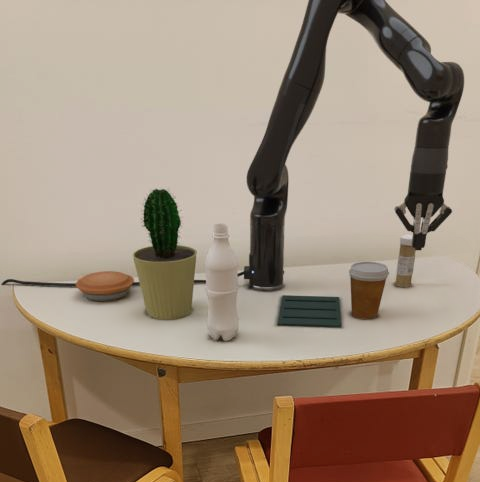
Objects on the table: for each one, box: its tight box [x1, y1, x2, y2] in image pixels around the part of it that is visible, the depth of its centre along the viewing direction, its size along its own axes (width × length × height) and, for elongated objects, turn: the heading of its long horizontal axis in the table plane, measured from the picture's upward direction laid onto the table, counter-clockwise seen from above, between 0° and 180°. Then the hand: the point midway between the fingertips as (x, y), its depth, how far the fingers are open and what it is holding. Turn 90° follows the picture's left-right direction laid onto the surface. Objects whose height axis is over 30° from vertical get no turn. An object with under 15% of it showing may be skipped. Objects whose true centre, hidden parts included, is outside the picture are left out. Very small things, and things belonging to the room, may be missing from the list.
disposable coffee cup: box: [348, 261, 390, 320], centre depth 146 cm, size 10×10×12 cm
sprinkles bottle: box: [394, 234, 417, 288], centre depth 164 cm, size 5×5×13 cm
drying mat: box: [277, 294, 342, 329], centre depth 151 cm, size 15×20×1 cm
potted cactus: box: [132, 188, 198, 320], centre depth 144 cm, size 15×15×30 cm
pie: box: [74, 270, 135, 302], centre depth 162 cm, size 15×16×5 cm
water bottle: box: [204, 223, 240, 342], centre depth 131 cm, size 7×7×25 cm
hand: (417, 249), depth 139 cm, fingers closed
